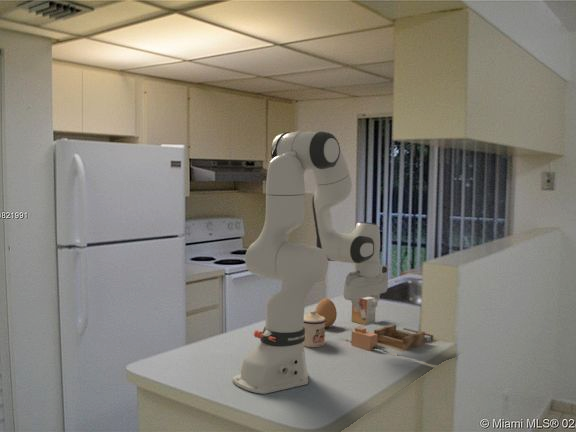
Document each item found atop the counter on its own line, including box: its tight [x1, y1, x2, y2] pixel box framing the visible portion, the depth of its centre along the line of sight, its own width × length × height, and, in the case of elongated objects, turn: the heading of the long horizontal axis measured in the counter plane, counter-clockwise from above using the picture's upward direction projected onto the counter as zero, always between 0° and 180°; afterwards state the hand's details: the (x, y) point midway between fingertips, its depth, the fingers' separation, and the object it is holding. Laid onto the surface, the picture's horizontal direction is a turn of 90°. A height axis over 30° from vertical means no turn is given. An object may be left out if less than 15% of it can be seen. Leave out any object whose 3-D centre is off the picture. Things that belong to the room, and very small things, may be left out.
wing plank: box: [399, 328, 432, 343], centre depth 196 cm, size 2×12×2 cm, turn 44°
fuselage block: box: [350, 326, 378, 352], centre depth 188 cm, size 4×8×6 cm, turn 44°
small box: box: [351, 296, 377, 326], centre depth 220 cm, size 8×6×10 cm
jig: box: [373, 323, 436, 352], centre depth 192 cm, size 20×13×5 cm, turn 134°
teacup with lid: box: [303, 310, 326, 348], centre depth 191 cm, size 12×9×12 cm
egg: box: [315, 298, 338, 329], centre depth 212 cm, size 8×8×11 cm
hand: (365, 309), depth 188 cm, fingers open, 8 cm apart
